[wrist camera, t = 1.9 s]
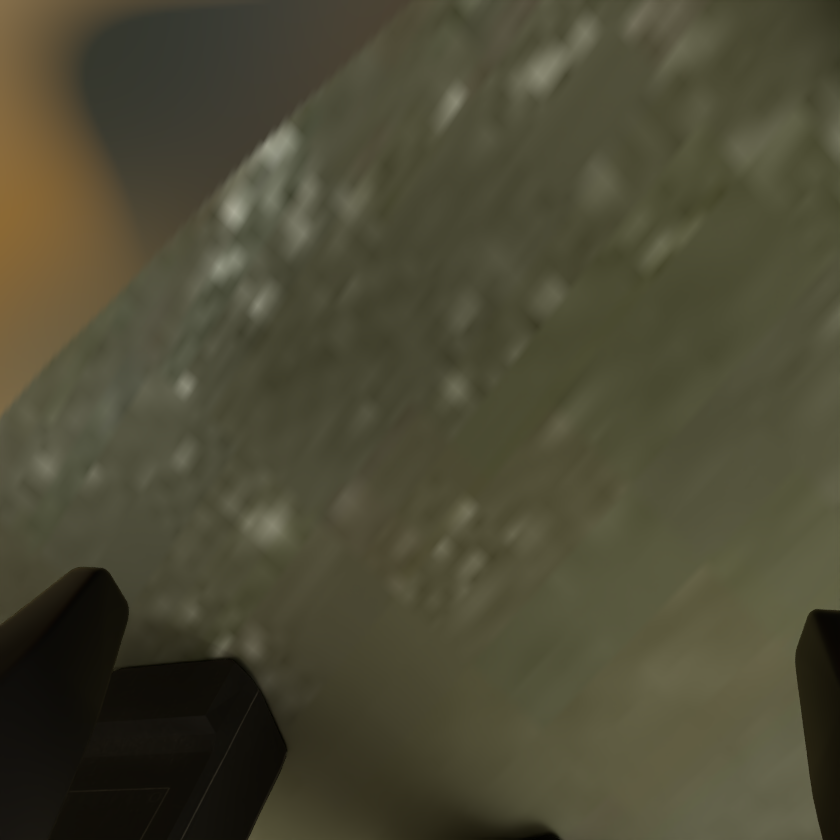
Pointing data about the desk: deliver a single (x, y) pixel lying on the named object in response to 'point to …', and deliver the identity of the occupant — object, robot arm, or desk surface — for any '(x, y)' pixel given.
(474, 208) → the desk surface
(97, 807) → the portable radio
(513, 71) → the desk surface
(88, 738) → the robot arm
